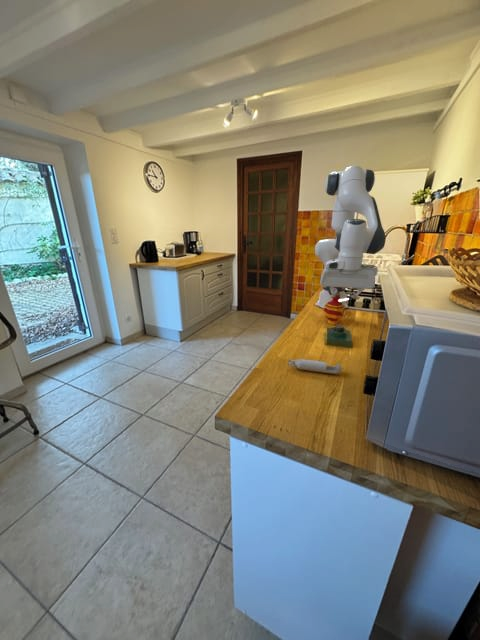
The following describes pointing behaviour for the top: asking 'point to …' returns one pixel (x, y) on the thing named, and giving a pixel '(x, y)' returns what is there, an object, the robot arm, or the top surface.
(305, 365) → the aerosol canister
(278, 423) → the top surface
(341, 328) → the pump
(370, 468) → the top surface
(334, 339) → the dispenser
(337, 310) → the potion bottle
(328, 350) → the top surface
